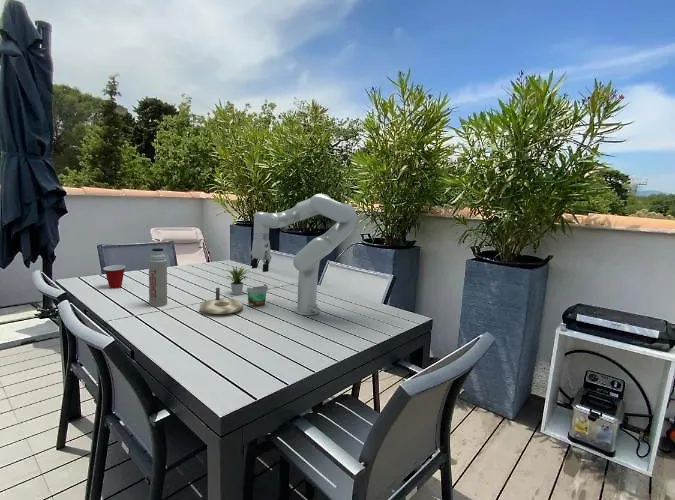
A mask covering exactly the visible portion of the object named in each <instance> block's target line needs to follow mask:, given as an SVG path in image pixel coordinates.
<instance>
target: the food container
mask: <svg viewBox="0 0 675 500" xmlns="http://www.w3.org/2000/svg"><path fill="white" fill-rule="evenodd" d="M267 291H269V288H268V285H267V284H266V283H264V285H261V286H253V287H247V288H246V292H247V306H248V307H250V308H251V307H252V308H261V307H264V306H265V305H266V298H267Z"/></svg>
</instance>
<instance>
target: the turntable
mask: <svg viewBox="0 0 675 500" xmlns="http://www.w3.org/2000/svg"><path fill="white" fill-rule="evenodd" d="M220 288H221V287H216V288H215V298H213V299H208V300H204V301H202V302H201V303H200V304H199V310H200V311H201V312H203V313H206V314H214V315H218V314H220V315H223V314H224V315H225V314H232V313H236V312H239V311H241V310H242V309H243V308H244V303H243V302H242V301H241V300H238V299H234V298H221V297H220V295H221V294H220V291H221V290H220Z"/></svg>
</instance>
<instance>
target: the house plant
mask: <svg viewBox="0 0 675 500" xmlns="http://www.w3.org/2000/svg"><path fill="white" fill-rule="evenodd" d="M244 269H245V267H243V266H241V267H240V268H239V269H238V268H237V266H235V267H234V266H232V270H230V269H228V271H229V273H230V274H231V276H229V275H226V276H225V277H226V278H230V279H231V282H230V288H231V293H232V295H233V296H240V295H242V294H243V289H244V282H243V280H247V279H248V277H247V276H250V275H246V274H248V273H250V272H249V271H250V270H251V269H246V270H244Z"/></svg>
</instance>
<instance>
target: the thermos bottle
mask: <svg viewBox="0 0 675 500" xmlns="http://www.w3.org/2000/svg"><path fill="white" fill-rule="evenodd" d="M167 267H168V260H167V259H166V255H165V254H164V248H162V247H161V248H159V247H157V248H155V247H154V248H152V249H151V255H150V256H149V260H148V301H149V304H148V305H149V307H152V308H153V307H156V308H159V307H164V306H166V305H168V268H167Z"/></svg>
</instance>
